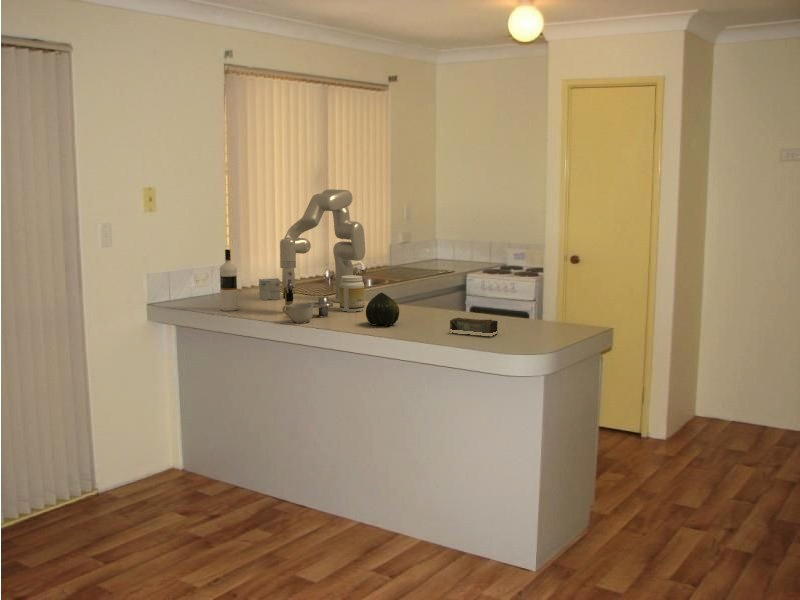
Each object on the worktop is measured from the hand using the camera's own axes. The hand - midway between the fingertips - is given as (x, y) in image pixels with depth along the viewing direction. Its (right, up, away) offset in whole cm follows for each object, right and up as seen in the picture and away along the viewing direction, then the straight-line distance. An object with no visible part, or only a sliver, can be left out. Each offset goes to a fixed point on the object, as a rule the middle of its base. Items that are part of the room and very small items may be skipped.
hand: (288, 299), depth 386 cm
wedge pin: (0, -6, +1) cm, 6 cm away
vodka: (-30, -5, +9) cm, 32 cm away
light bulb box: (-16, 0, +43) cm, 46 cm away
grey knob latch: (+14, -8, -9) cm, 18 cm away
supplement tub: (+30, -5, +9) cm, 32 cm away
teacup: (+8, -10, -22) cm, 26 cm away
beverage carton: (+85, -15, -47) cm, 99 cm away
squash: (+46, -11, -28) cm, 55 cm away
